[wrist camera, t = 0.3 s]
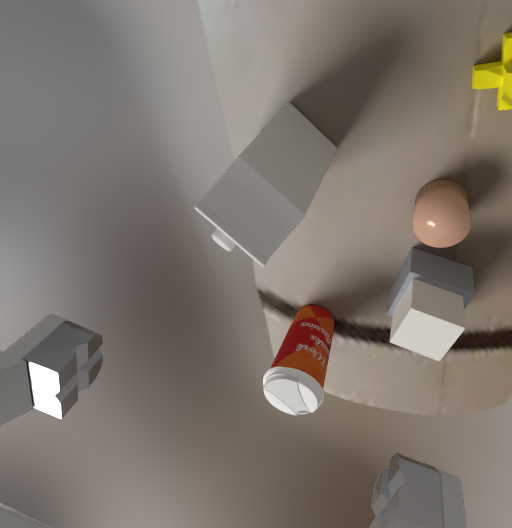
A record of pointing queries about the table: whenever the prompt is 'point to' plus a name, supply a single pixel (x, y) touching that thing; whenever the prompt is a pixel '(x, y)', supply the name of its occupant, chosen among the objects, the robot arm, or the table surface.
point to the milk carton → (268, 186)
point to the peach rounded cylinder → (441, 214)
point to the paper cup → (301, 363)
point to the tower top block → (427, 320)
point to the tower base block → (432, 276)
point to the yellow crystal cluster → (497, 75)
